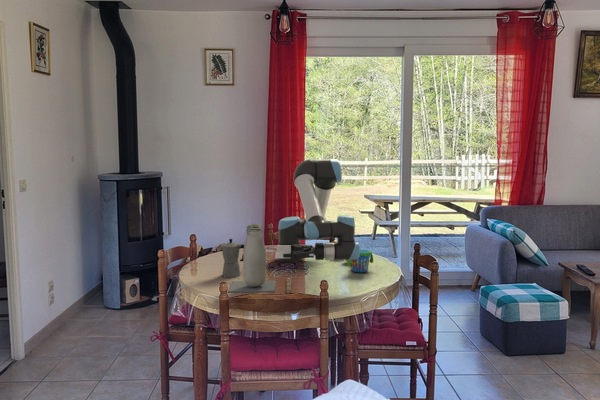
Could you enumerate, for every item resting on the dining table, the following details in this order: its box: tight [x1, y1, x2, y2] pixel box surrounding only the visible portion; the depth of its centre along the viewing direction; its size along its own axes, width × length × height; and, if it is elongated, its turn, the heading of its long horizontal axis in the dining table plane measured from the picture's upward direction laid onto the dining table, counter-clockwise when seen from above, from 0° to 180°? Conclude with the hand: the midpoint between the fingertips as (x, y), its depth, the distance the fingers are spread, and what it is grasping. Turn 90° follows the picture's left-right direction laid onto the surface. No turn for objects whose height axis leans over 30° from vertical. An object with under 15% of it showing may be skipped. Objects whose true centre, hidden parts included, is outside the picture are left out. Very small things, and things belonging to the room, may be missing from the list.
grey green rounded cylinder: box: [242, 223, 267, 287], centre depth 216 cm, size 10×10×28 cm
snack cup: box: [346, 249, 374, 273], centre depth 243 cm, size 16×10×10 cm
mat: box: [227, 280, 277, 293], centre depth 219 cm, size 16×20×1 cm
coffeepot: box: [218, 238, 245, 278], centre depth 237 cm, size 15×9×18 cm, turn 68°
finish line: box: [285, 278, 292, 294], centre depth 218 cm, size 20×2×1 cm, turn 1°
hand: (275, 251), depth 216 cm, fingers open, 13 cm apart
